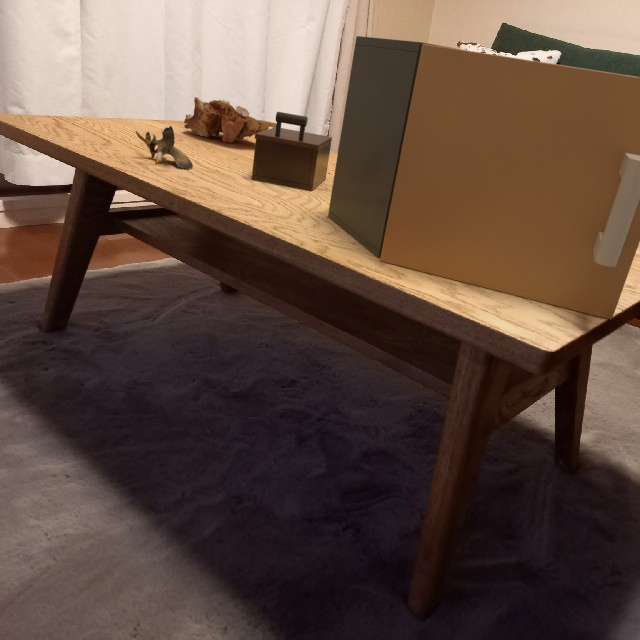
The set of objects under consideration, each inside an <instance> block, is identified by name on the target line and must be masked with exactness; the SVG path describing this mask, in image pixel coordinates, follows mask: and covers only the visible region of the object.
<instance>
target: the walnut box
mask: <svg viewBox="0 0 640 640" xmlns="http://www.w3.org/2000/svg"><path fill="white" fill-rule="evenodd" d="M331 146H332V141H331V142H330V143H328V144H326V145H325V146H323V147H321V148H319V149H318V150H315V149H309V148H304V147H299V146H293V145H288V144H282V143H277V142H271V141H266V140H260V139H255V144H254V152H253V154H254V155H253V163H252V171H251V180H253V181H257V182H258V181H259V182H263V183H268V184H274V185H280V186H284V187H289V188H295V189H299V190H305V191H310V192H313V191H314V190H315V189H316V188H318V186H319V185H321V184H322V183H323V182H324V181H325V180H326V179H327V172H328V167H329V160H330V154H331V148H332V147H331Z"/></svg>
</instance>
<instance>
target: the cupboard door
mask: <svg viewBox="0 0 640 640" xmlns="http://www.w3.org/2000/svg"><path fill="white" fill-rule="evenodd" d="M428 44H429V43H428ZM428 44H422V48H421V53H420V58H419V64H418V69H417V74H416V79H415V84H414V89H413V94H412V99H411V104H410V109H409V115H408V120H407V125H406V130H405V135H404V140H403V145H402V150H401V155H400V160H399V165H398V171H397V176H396V181H395V186H394V191H393V196H392V201H391V206H390V211H389V216H388V222H387V227H386V232H385V237H384V242H383V247H382V252H381V257H380V258H379V261H380V262H383V263H387V264H391V265H395V266H399V267H403V268H407V269H410V270H414V271H419V272H422V273H425V274H430V275H434V276H438V277H440V278H441V277H442V278H445V279H450V280H454V281H458V282H462V283H466V284H470V285H474V286H478V287H480V288H485V289H489V290H492V291H497V292H501V293H505V294H509V295H513V296H515V297H520V298H524V299H528V300H531V301H536V302H540V303H543V304H548V305H552V306H556V307H560V308H564V309H567V310H572V311H576V312H580V313H583V314H587V315H591V316H596V317H599V318H602V319H607V320H613V317H614V315H615V312H616V309H617V306H618V304H619V301H620V298H621V295H622V292H623V289H624V287H625V284H626V281H627V278H628V275H629V273H630V270H631V268H632V265H633V262H634V259H635V256H636V253H637V250H638V247H639V245H640V76H636V75H635V76H634V75H629V74H628V75H627V74H621V73H616V72H610V71H609V72H608V71H602V70H596V69H589V68H583V67H577V66H569V65H564V64H557V63H549V62H545V61H537V60H531V59H524V58H519V57H512V56H504V55H500V54H499V55H498V54H491V53H486V52H480V51H479V52H478V51H473V50H467V49H462V50H460V49H461V48H456V49H454V48H455V47H451V48H447V47H448V46H445V47H441V46H442V45H439V46H434V45H435V44H434V45H428Z"/></svg>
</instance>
